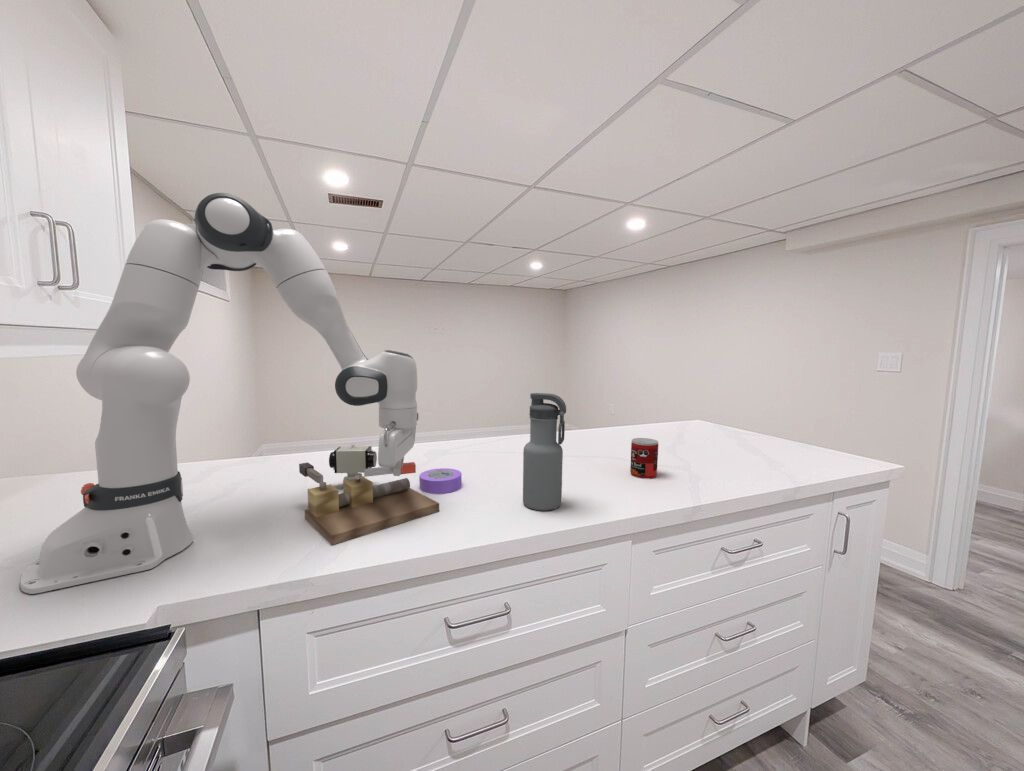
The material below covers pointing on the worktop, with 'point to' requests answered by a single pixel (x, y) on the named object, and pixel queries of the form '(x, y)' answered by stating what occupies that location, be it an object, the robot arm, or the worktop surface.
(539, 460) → the water bottle
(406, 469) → the red lever
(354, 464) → the pneumatic valve
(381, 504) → the pipe board
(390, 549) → the worktop surface
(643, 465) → the canned food
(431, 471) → the masking tape
